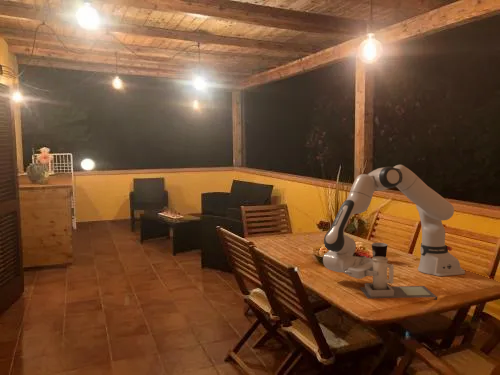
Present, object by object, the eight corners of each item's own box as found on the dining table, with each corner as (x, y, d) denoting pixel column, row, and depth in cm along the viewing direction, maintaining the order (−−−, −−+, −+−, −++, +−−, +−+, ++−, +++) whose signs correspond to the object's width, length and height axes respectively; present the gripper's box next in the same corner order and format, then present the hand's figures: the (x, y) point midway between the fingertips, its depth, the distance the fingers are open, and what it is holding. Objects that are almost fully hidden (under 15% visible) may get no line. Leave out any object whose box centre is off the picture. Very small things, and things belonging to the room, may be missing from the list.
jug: (369, 289, 190) (369, 258, 188) (376, 285, 195) (376, 255, 193) (388, 294, 183) (389, 262, 182) (395, 289, 188) (396, 259, 186)
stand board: (424, 288, 197) (424, 280, 197) (437, 299, 183) (437, 291, 183) (359, 289, 197) (359, 282, 197) (367, 301, 183) (367, 292, 183)
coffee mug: (388, 264, 236) (388, 246, 235) (372, 263, 238) (372, 246, 237) (385, 258, 248) (386, 241, 247) (370, 257, 249) (370, 241, 248)
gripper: (341, 264, 191) (369, 270, 181) (365, 255, 205) (392, 260, 195) (342, 278, 191) (369, 285, 182) (365, 267, 206) (392, 273, 196)
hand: (381, 272), depth 188 cm, fingers closed on jug, 6 cm apart
